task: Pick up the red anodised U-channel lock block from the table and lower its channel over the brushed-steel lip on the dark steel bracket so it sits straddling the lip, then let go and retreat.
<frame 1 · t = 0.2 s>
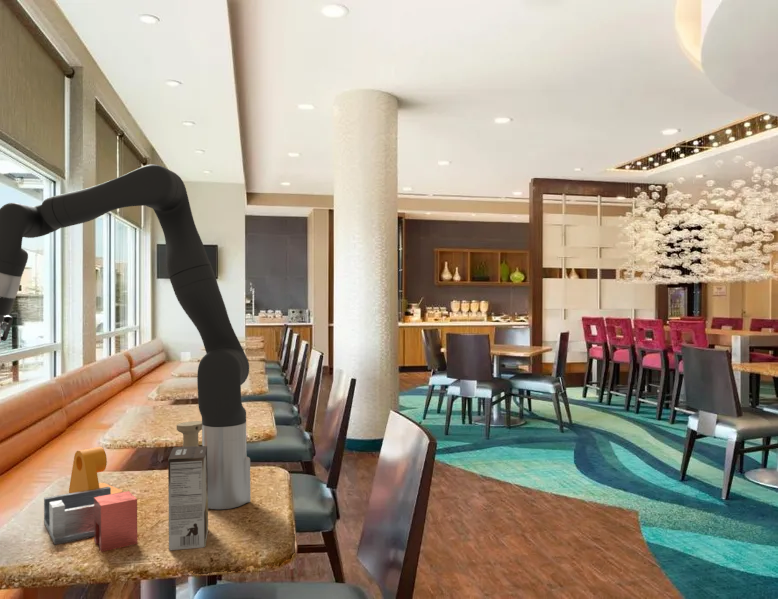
lock block: (115, 542, 112), on the table
handle: (191, 488, 145), on the table
coffee box: (189, 541, 112), on the table
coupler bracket: (84, 526, 120), on the table
bracket: (96, 503, 135), on the table
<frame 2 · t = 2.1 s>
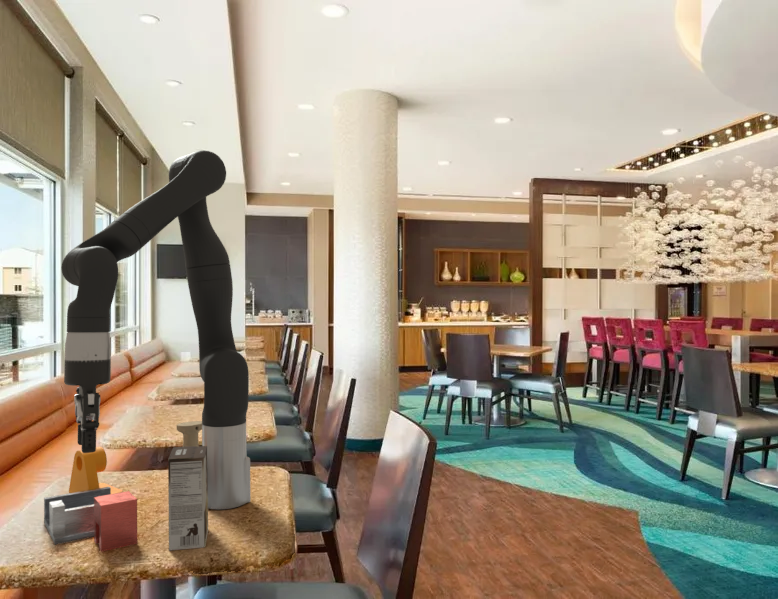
hand: (86, 448, 111), 17 cm above the table, tool pointing down, fingers open, 8 cm apart
nothing on the table moved.
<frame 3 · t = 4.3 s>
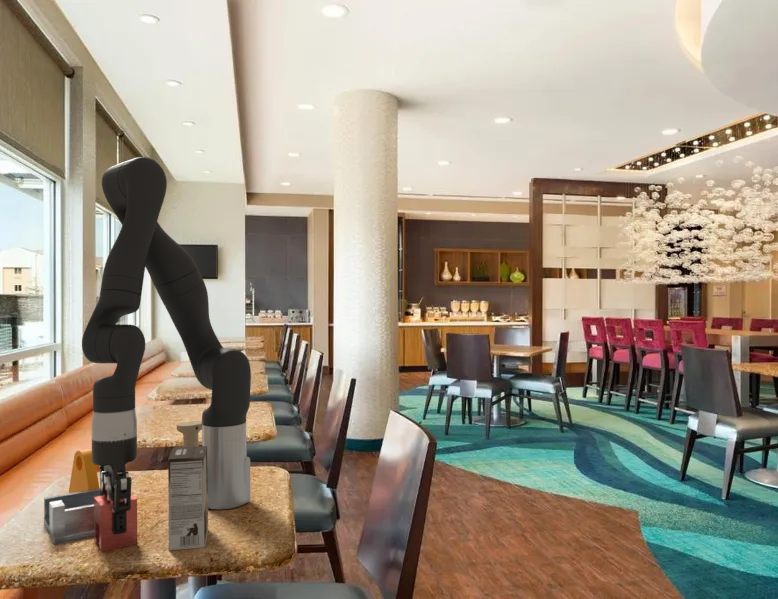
hand: (115, 527, 112), 3 cm above the table, tool pointing down, fingers closed on lock block, 6 cm apart
lock block: (115, 542, 112), on the table, touching gripper
everything else where it was.
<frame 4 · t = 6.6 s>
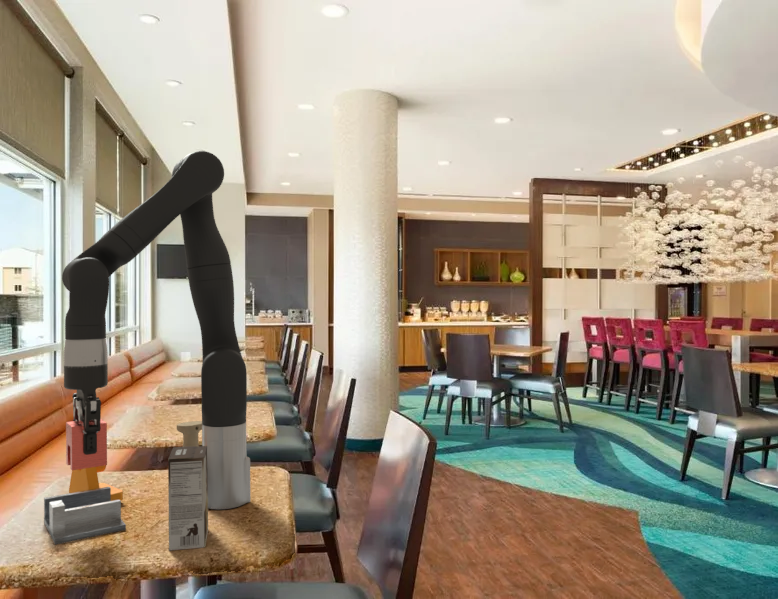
hand: (86, 450, 118), 15 cm above the table, tool pointing down, fingers closed on lock block, 6 cm apart
lock block: (86, 464, 118), point 13 cm above the table, touching gripper
everything else where it was.
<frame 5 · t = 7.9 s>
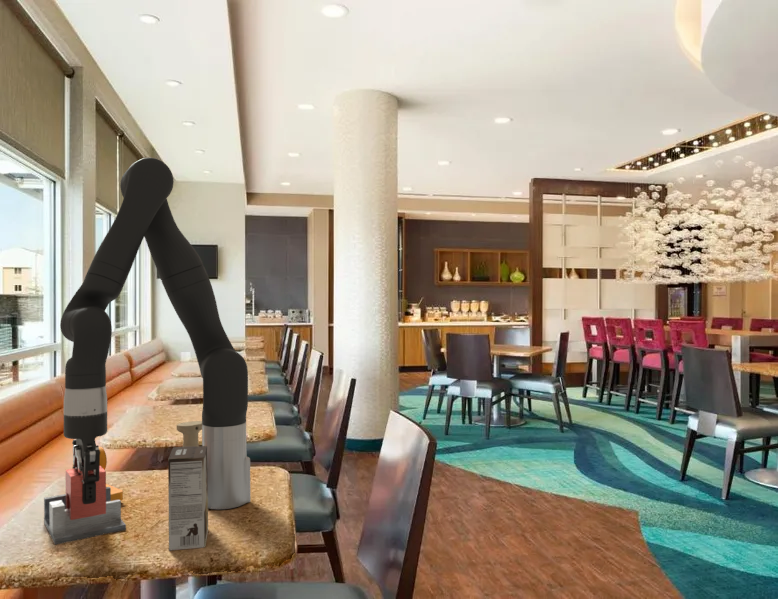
hand: (85, 498, 118), 6 cm above the table, tool pointing down, fingers closed on lock block, 6 cm apart
lock block: (85, 512, 118), point 3 cm above the table, touching gripper
everything else where it was.
when the fingers open (5 cm above the table, at t = 8.7 s): lock block stays where it is, resting on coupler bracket.
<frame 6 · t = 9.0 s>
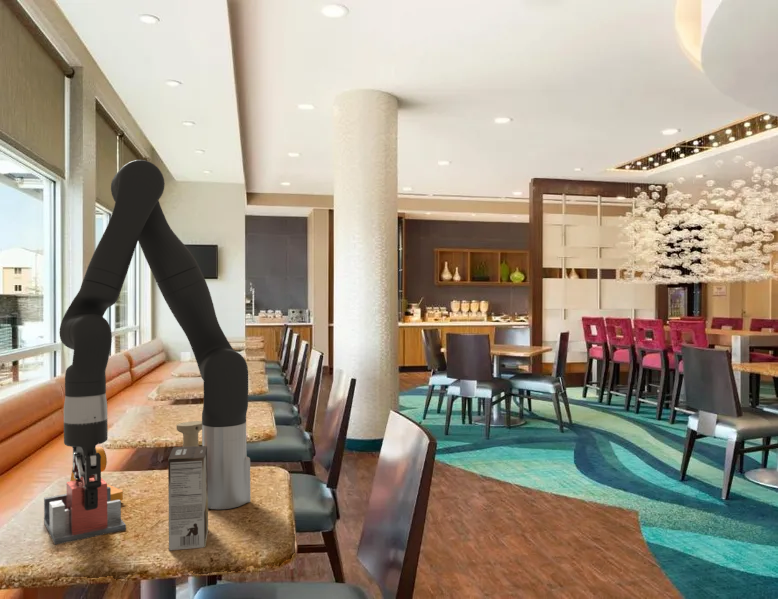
hand: (86, 503, 118), 5 cm above the table, tool pointing down, fingers open, 8 cm apart
lock block: (86, 524, 118), point 1 cm above the table, touching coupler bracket
everything else where it was.
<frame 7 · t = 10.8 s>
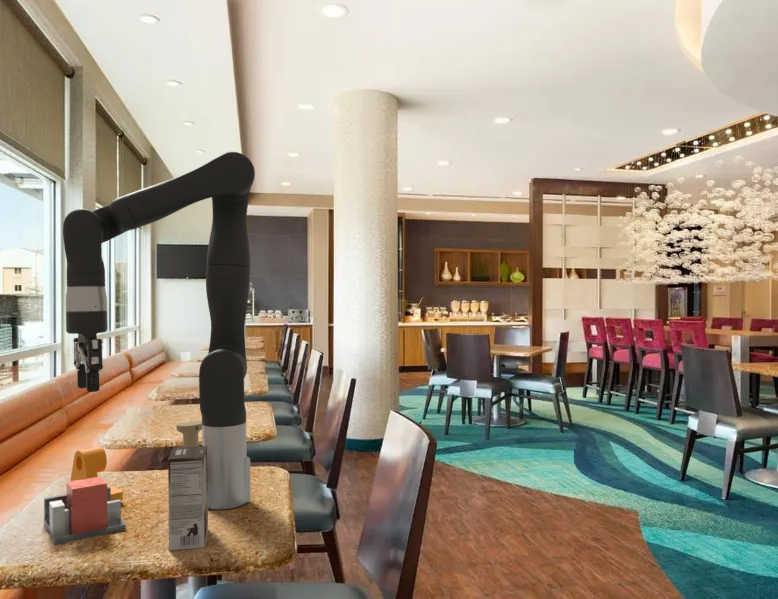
hand: (88, 389, 125), 26 cm above the table, tool pointing down, fingers open, 8 cm apart
nothing on the table moved.
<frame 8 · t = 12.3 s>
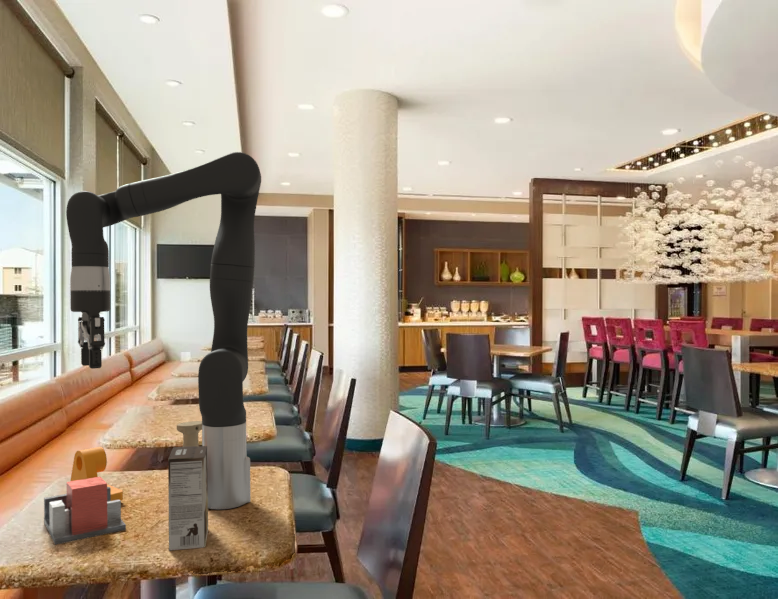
hand: (91, 366, 129), 30 cm above the table, tool pointing down, fingers open, 8 cm apart
nothing on the table moved.
at the end: lock block 0.9 cm from the target spot on the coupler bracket, point 1.0 cm above the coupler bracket's base; lock block tilted 0°; the gripper is holding nothing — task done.
